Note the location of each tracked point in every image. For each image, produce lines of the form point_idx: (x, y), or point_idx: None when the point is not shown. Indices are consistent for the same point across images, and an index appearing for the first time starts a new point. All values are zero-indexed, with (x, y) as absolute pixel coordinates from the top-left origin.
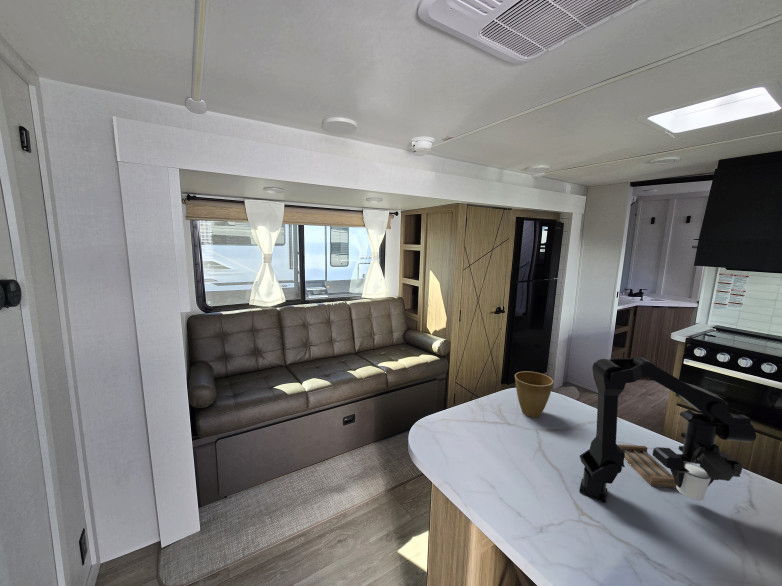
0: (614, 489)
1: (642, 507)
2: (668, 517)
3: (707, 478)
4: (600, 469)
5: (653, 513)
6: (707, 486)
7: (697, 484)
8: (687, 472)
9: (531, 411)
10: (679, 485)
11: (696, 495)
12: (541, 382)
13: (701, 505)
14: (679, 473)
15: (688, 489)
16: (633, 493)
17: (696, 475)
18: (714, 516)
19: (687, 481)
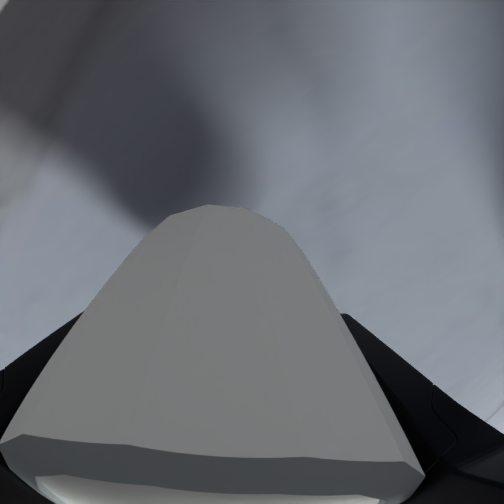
0: (498, 298)
1: (495, 205)
2: (443, 134)
3: (87, 455)
4: None
5: (485, 167)
6: (107, 301)
7: (296, 322)
8: (393, 495)
9: None
10: (362, 326)
11: (253, 225)
12: None
13: (140, 233)
14: (494, 436)
15: (317, 283)
16: (457, 287)
17: (298, 495)
18: (128, 147)
19: (365, 364)
